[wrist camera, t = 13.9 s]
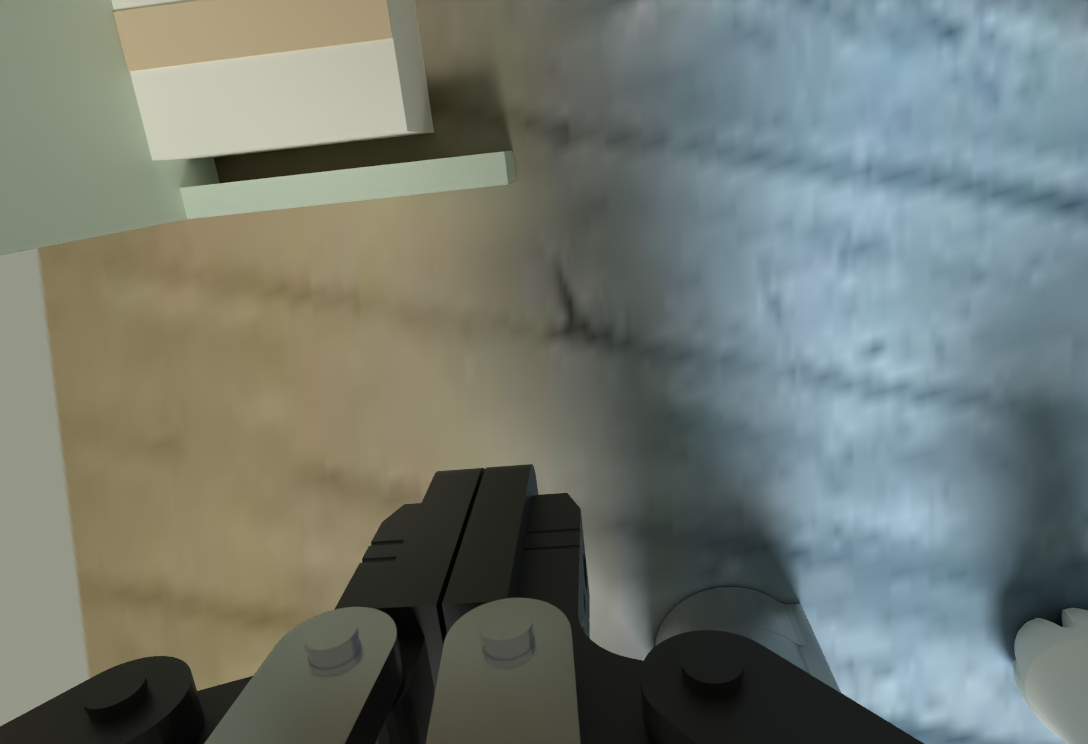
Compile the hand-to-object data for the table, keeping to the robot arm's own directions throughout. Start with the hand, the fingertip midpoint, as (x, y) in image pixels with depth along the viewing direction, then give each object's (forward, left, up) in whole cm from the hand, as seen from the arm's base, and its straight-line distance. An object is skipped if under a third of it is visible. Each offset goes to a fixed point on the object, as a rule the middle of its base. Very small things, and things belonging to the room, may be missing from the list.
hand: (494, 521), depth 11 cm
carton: (+12, -12, -29) cm, 34 cm away
